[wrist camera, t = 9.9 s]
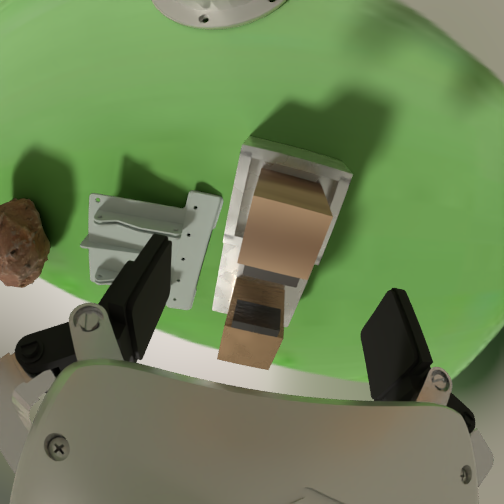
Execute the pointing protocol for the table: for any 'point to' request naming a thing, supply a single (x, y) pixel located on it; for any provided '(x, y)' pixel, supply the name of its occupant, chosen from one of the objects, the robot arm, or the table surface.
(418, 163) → the table surface
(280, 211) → the wood grain cube
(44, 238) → the decorative rock
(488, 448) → the robot arm
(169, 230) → the metal bracket
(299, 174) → the white desk organizer
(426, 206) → the table surface
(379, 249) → the table surface
